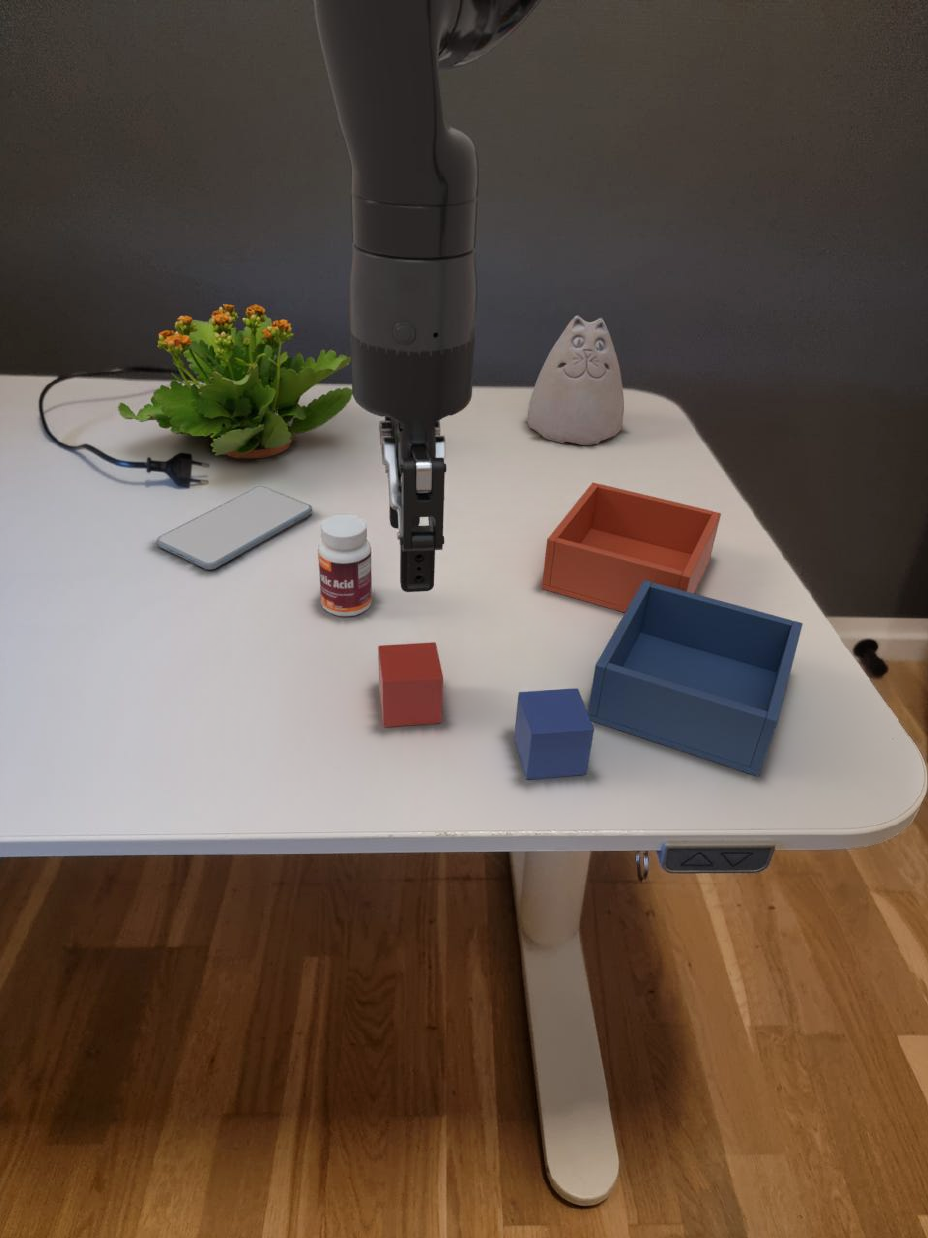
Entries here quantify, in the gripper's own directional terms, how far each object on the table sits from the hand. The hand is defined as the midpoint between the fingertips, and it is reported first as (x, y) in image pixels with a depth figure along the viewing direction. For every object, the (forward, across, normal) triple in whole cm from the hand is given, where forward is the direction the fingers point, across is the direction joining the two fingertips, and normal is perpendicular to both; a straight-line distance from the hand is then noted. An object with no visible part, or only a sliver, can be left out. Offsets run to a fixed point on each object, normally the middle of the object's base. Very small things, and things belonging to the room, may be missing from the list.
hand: (410, 555), depth 61 cm
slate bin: (+14, -1, -23) cm, 27 cm away
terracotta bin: (+14, +18, -24) cm, 33 cm away
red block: (+14, 0, 0) cm, 14 cm away
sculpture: (+14, +54, -28) cm, 62 cm away
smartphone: (+14, +29, +15) cm, 36 cm away
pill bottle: (+14, +15, +4) cm, 21 cm away
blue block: (+14, -7, -10) cm, 19 cm away
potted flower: (+15, +51, +14) cm, 55 cm away
